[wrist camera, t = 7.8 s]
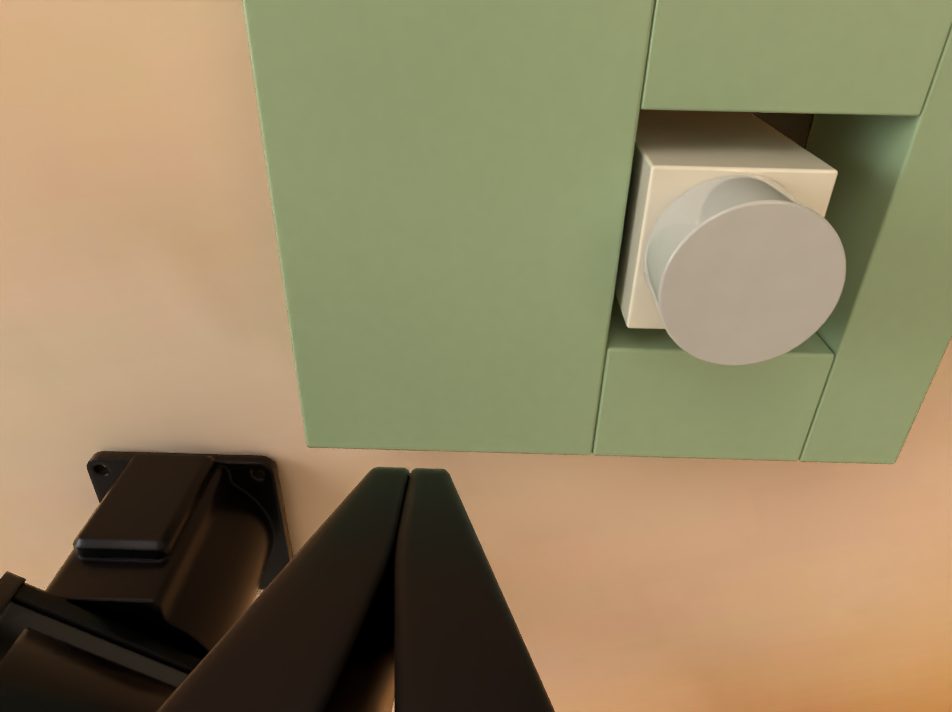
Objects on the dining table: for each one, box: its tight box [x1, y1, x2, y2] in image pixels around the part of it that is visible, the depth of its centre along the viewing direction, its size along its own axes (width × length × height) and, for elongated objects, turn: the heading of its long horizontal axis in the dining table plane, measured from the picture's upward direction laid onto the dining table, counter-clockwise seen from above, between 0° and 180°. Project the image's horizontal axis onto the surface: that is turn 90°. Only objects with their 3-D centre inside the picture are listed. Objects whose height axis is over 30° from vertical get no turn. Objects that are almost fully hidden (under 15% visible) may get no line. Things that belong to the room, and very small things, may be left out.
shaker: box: [615, 110, 846, 366], centre depth 15 cm, size 7×4×4 cm
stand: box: [242, 0, 952, 464], centre depth 16 cm, size 12×15×4 cm
